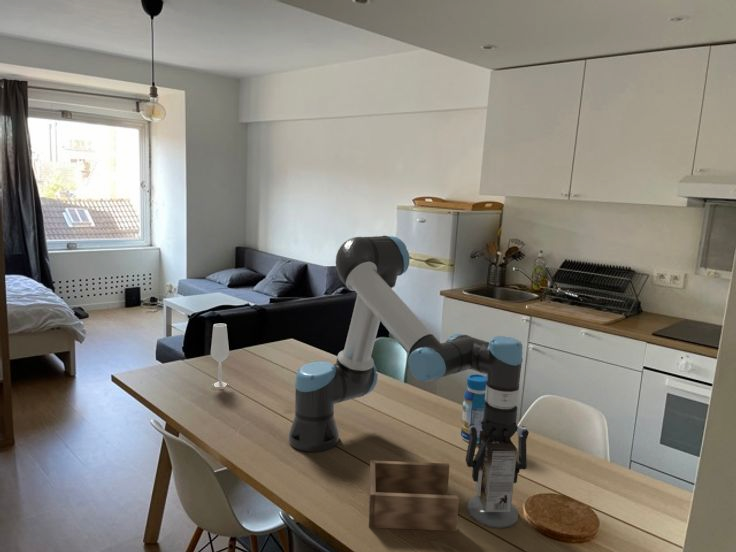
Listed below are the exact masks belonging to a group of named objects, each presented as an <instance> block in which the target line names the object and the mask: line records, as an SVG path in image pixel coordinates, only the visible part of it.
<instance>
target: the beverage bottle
mask: <svg viewBox="0 0 736 552" xmlns="http://www.w3.org/2000/svg"><path fill="white" fill-rule="evenodd" d="M486 380H487V375H483V374H477V373H476V374H475V373H474V374H469V375H468V376H467V379H466V387H467V390H466V391H465V392H464V394H463V402H462V416H461V430H460V437H461V438H462V440H463V441H465V442H467V443H469V439H470V427H469V425H470V424H474V425H479V424H481V422H482V421H483V416H484V404H485V402H486V400H485V393H486ZM481 431H483V430H481ZM479 438H480V434H479V435H477V444H479Z"/></svg>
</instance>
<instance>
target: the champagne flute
mask: <svg viewBox="0 0 736 552" xmlns="http://www.w3.org/2000/svg"><path fill="white" fill-rule="evenodd" d="M227 326H228V325H227V324H226V323H214V324H213V326H212V335H211V336H212V337H211V347H210V356H211V357H212V359H213V360H215V361H216V362H217V363H218V365H217V366H218V367H217V369H218V372H217V373H218V377H217V378H218V381H217V382H215V383H213V384H214V386H215V387H225V386H226V385H227V384H228V383H226V382H224V381H222V376H223V375H222V374H223V373H222V367H223V366H222V364H223V361H225V360H226V359H227V358H228V357H229V355H230V349H229V348H230V347H229V339H228V338H229V337H228V328H227Z"/></svg>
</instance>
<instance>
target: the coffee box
mask: <svg viewBox="0 0 736 552" xmlns="http://www.w3.org/2000/svg"><path fill="white" fill-rule="evenodd" d="M487 440H488V437H487V436H485V433H484V431H480V438H479V443H478V449H479V448H480V446H481V444H482V441H483V442H484V443H487V444H486V448H485V458H484V460H483V462H482V464H481V468H482V471H483V472H482V483H481V495H480V496H478V497H479V499H480V501H481V503H482V505H483V507H484V509H485V511H486V512H510V511H511V504H512V501H513V493H514V484H515V483H514V475H515V465H516V461H517V454H518V447H516V445H515V444H514V442H513V441H512V440H511V443H512V444H510V443H506V442H504V441H493V442H487Z"/></svg>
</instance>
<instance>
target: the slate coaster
mask: <svg viewBox="0 0 736 552" xmlns="http://www.w3.org/2000/svg"><path fill="white" fill-rule="evenodd" d="M466 509H467V513H468V515H469V516H470V518H471V519H473V520H474V521H475V522H476V523H478V524H480V525H482V526H486V527H489V528H492V529H493V528H494V529H506V528H509V527H512V526H514V525H516V523H517V522H518V519H519V511H518V509H517V508H516V506H515V505H514V504H513V503H511V511H510V512H486V511H485V509H484V507H483V505H482V503H481V501H480V499H479V497H478V496H477V495H476V496H474V497H472V498H471V499H469V500H468V502H467V508H466Z"/></svg>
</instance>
